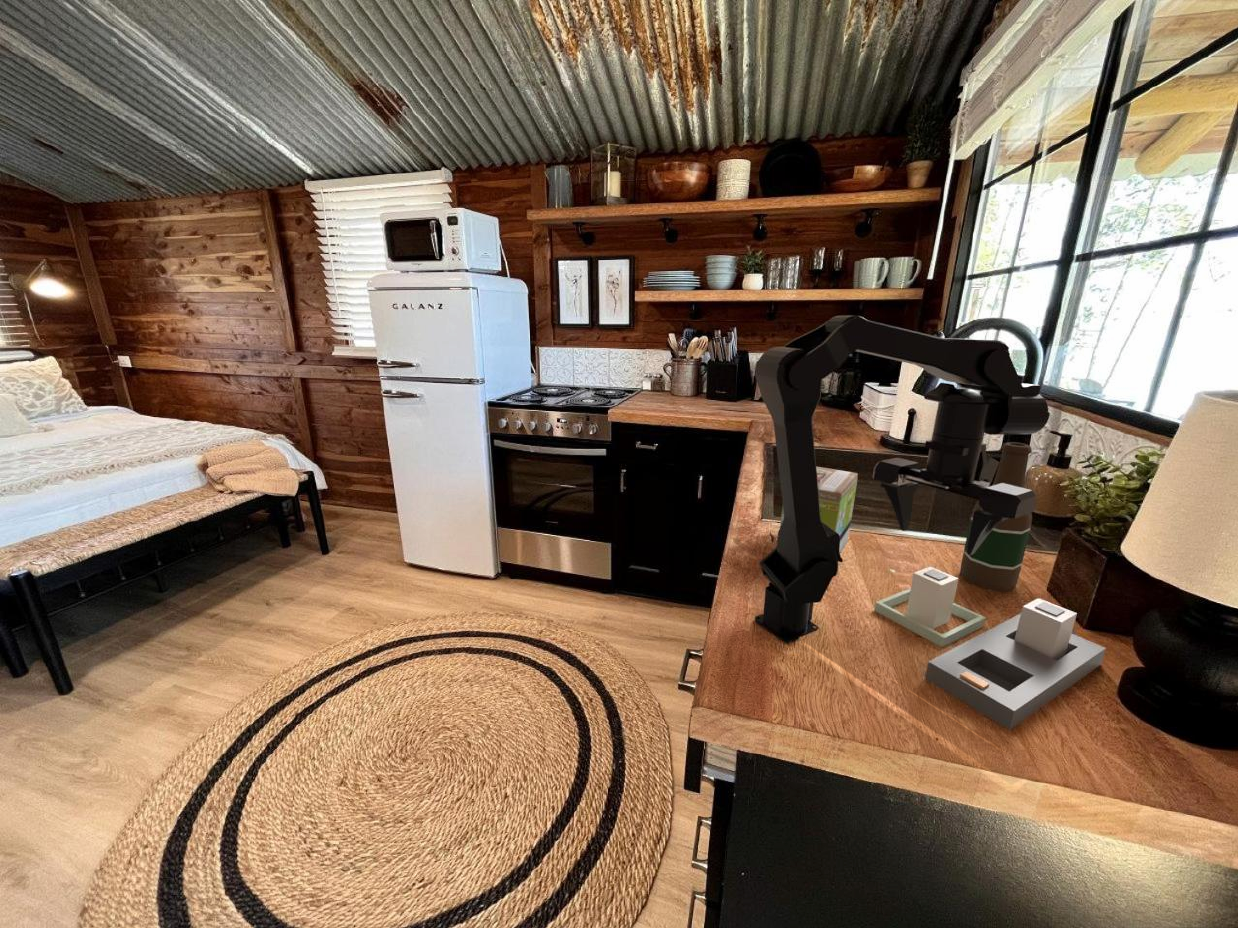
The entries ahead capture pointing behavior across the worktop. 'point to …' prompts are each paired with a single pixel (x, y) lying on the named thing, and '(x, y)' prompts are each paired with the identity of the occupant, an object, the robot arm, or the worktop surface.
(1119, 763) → the worktop surface
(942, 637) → the tray
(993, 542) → the beer bottle
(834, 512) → the tea box
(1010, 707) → the strip
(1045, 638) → the twin plug
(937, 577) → the iec plug
